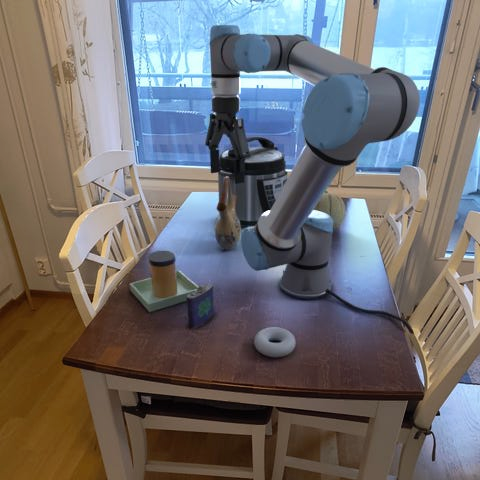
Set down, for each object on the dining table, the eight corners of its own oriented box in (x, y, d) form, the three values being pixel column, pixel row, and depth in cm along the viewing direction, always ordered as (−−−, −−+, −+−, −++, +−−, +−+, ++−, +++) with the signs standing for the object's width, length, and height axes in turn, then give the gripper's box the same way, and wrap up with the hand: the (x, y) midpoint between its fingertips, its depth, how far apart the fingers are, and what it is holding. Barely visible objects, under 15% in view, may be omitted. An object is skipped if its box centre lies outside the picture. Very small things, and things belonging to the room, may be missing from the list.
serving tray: (201, 296, 123) (201, 288, 122) (149, 312, 116) (148, 304, 114) (179, 277, 133) (179, 270, 132) (130, 290, 126) (129, 283, 124)
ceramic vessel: (234, 258, 145) (233, 184, 131) (209, 255, 147) (206, 182, 133) (245, 240, 158) (246, 171, 144) (222, 237, 160) (220, 169, 146)
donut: (298, 360, 98) (292, 334, 107) (299, 348, 97) (293, 323, 105) (255, 361, 98) (252, 335, 106) (255, 349, 96) (252, 324, 104)
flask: (209, 311, 116) (207, 276, 110) (217, 314, 115) (216, 279, 109) (186, 326, 110) (183, 290, 104) (194, 330, 108) (192, 294, 103)
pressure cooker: (224, 233, 164) (222, 146, 146) (209, 210, 187) (206, 132, 169) (296, 226, 170) (303, 142, 153) (274, 204, 193) (277, 129, 176)
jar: (182, 293, 123) (179, 257, 117) (158, 301, 120) (154, 264, 113) (171, 283, 128) (168, 248, 122) (148, 290, 125) (143, 254, 119)
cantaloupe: (326, 240, 158) (330, 200, 150) (297, 229, 168) (300, 191, 160) (351, 231, 166) (357, 192, 158) (322, 220, 176) (326, 184, 167)
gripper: (191, 92, 119) (195, 170, 131) (239, 101, 102) (239, 189, 113) (214, 91, 123) (216, 167, 134) (264, 99, 105) (262, 185, 117)
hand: (226, 177), depth 124 cm, fingers open, 13 cm apart
